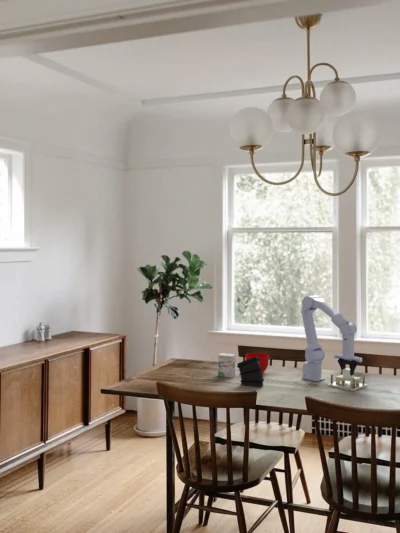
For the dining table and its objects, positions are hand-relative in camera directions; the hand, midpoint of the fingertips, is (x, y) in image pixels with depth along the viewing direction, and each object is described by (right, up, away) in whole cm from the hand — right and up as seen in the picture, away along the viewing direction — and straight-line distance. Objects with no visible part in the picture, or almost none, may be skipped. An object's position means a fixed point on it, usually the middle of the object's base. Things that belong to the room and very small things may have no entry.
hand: (347, 374), depth 286 cm
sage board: (0, -2, 0) cm, 2 cm away
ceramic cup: (-41, -5, +31) cm, 52 cm away
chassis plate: (0, -6, 0) cm, 6 cm away
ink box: (-60, -5, +21) cm, 63 cm away
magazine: (-49, -6, 0) cm, 49 cm away
